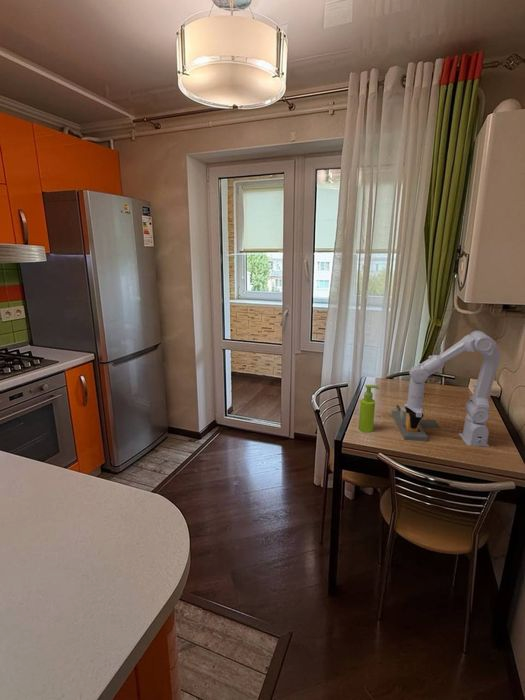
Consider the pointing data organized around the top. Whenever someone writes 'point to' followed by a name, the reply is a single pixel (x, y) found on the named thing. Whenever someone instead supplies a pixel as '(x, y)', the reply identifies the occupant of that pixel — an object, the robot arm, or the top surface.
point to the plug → (407, 425)
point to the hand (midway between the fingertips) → (412, 425)
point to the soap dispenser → (367, 410)
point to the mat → (429, 423)
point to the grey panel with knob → (401, 421)
